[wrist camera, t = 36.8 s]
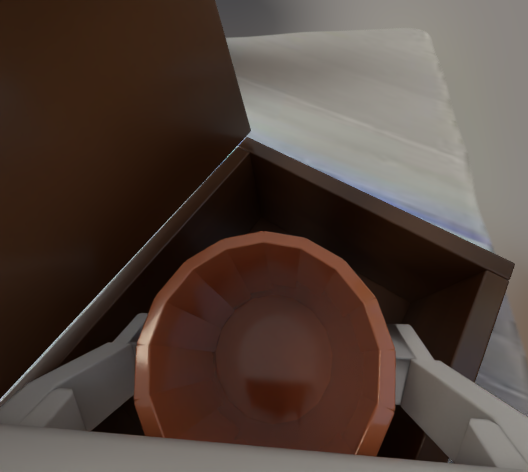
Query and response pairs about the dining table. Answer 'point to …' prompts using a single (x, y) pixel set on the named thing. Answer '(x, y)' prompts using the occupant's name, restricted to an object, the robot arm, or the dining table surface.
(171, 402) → the cup
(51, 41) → the lid
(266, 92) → the dining table surface
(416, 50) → the dining table surface
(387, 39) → the dining table surface
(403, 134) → the dining table surface
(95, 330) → the box
